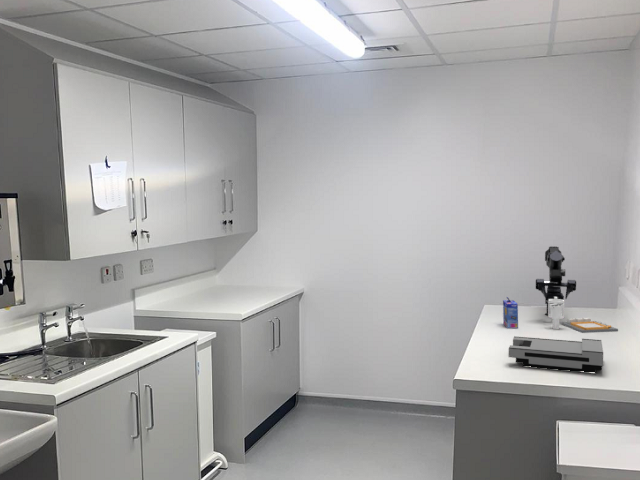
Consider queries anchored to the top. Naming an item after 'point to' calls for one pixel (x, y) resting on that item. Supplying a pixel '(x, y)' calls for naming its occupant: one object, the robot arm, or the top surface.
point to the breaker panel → (587, 325)
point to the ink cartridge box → (510, 313)
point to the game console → (558, 353)
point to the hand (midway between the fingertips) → (555, 298)
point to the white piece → (555, 311)
